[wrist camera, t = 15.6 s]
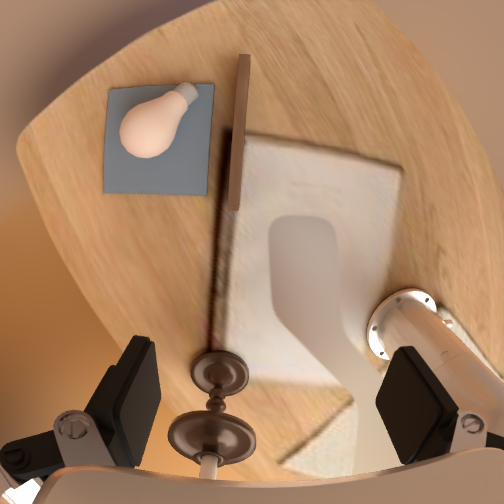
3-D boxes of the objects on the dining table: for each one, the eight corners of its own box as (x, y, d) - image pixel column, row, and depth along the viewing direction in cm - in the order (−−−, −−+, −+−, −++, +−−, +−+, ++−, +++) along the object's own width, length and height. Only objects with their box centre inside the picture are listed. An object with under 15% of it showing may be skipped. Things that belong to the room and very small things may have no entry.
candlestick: (223, 405, 47) (207, 597, 13) (172, 371, 44) (114, 576, 11) (269, 372, 44) (286, 595, 11) (216, 332, 42) (177, 586, 9)
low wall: (250, 65, 32) (250, 54, 28) (239, 205, 37) (238, 210, 33) (240, 64, 32) (239, 54, 28) (229, 204, 37) (227, 210, 33)
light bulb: (178, 58, 27) (103, 128, 26) (220, 96, 29) (147, 168, 28) (172, 77, 33) (110, 137, 32) (208, 109, 35) (147, 171, 34)
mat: (214, 85, 32) (214, 84, 32) (206, 195, 36) (206, 196, 36) (111, 90, 32) (109, 89, 31) (105, 192, 36) (103, 193, 35)
